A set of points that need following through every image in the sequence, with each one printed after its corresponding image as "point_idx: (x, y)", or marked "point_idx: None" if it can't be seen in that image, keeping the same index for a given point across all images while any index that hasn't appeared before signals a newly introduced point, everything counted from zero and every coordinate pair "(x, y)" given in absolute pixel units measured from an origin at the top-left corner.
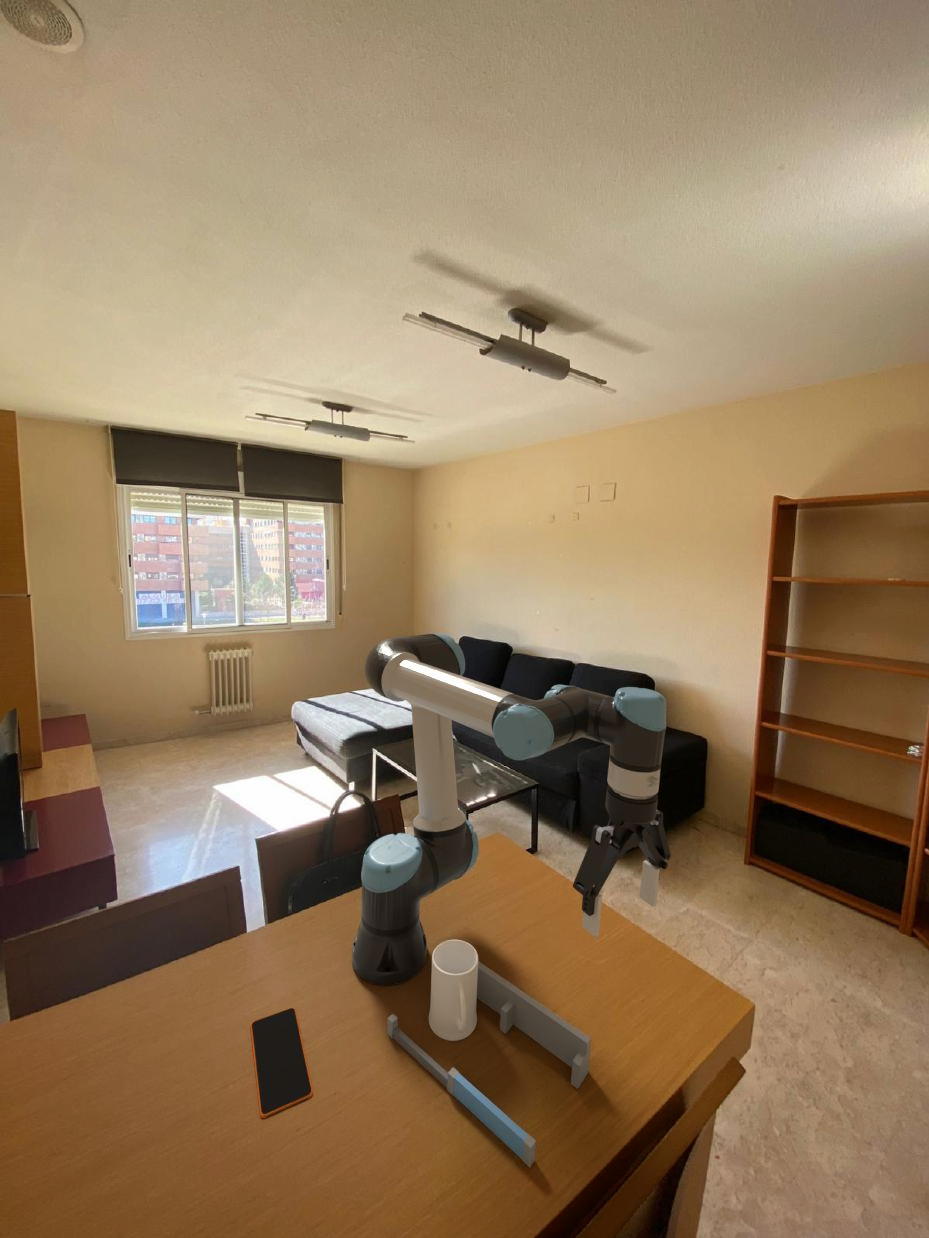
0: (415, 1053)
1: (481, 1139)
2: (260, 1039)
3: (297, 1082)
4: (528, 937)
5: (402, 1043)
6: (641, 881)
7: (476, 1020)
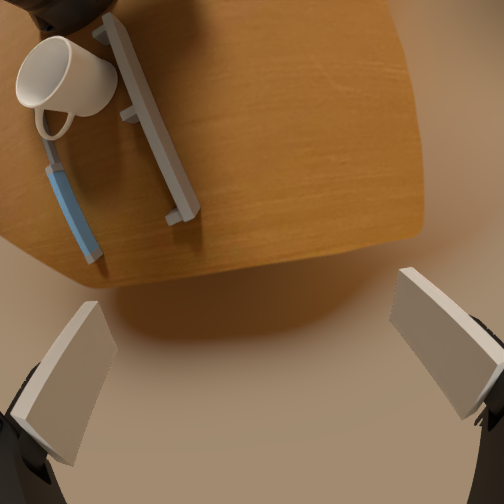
0: None
1: None
2: None
3: None
4: (265, 6)
5: None
6: (436, 306)
7: (109, 99)
